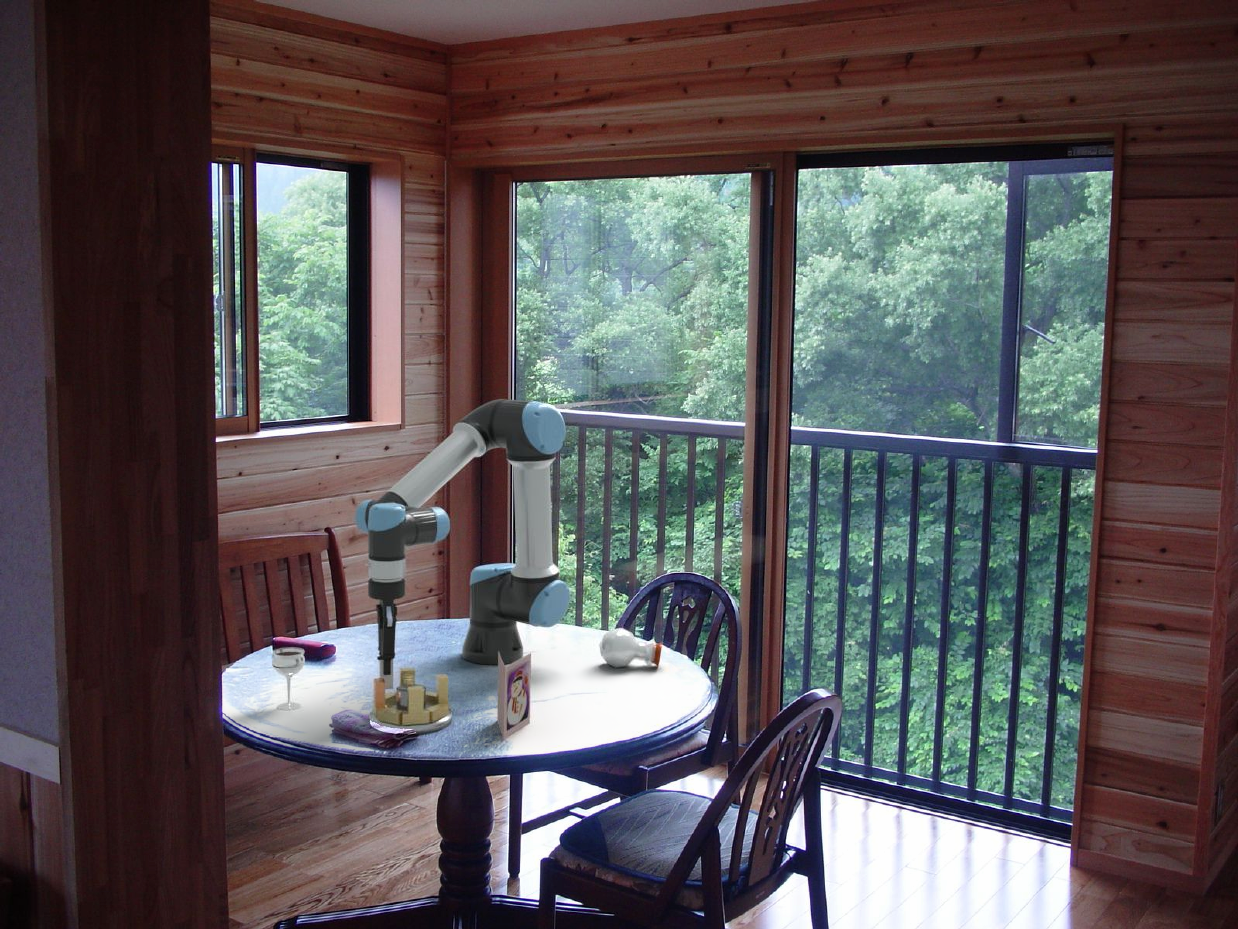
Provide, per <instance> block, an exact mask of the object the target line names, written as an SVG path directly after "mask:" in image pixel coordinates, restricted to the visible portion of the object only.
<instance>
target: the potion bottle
mask: <svg viewBox="0 0 1238 929" xmlns="http://www.w3.org/2000/svg"><path fill="white" fill-rule="evenodd" d="M662 646H663V643H662V641H661V642H659V643H657V642H656V641H655V638H652V639H651V640H649V641H647V642H643V641H637V639H636V638H635V636H634V634H633V632H631V631H629V630H627V629H626V628H623V627H619V628H613V629H611V630H609V631H608V632H606V633H605V634H603V636H602V638H601V641H600V643H599V652H600V656H601V657H602V659H603V661H605V662H606V664H608V665H611V666H612V667H614V668H615V669H616V668H623V667H627V666H629V664H631V663H632V662H634V660H637V661H643V662H644V663H645V664H646V665H647V666H648V667H649V668H650V667H651V666H652V665H653V664H654V665H655V666H656V667H657V668H659V665H660V661H661V656H662V655H661V653H662V648H663V647H662Z"/></svg>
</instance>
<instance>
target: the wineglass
mask: <svg viewBox="0 0 1238 929" xmlns="http://www.w3.org/2000/svg"><path fill="white" fill-rule="evenodd" d="M305 650H306V649H305ZM305 650H304V648H301V647H280V648H276V649H274V650H273V651H272V655H273V657H272V662H271V664H272V665H271V666H272V668H273V669H274V671H276V672H277V673H278V674H279V675H281V676H284V677H285V679H286V685H287V686H286V688H287V689H286V690H287V691H286V692H287V702H283V703H280V704H278V705H277V706H276V708H277V709H279V710H280V711H281V710H282V711H291V710H296V709H299V708H300V707H302V706H301V704H300V703H298V702H292V701H291V680H292V679H291V678H293V676H294V675H297V674H298V673H300V671H301V670H302V669H304V666H305V662H306V659H305V656H304V655H305Z"/></svg>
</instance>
